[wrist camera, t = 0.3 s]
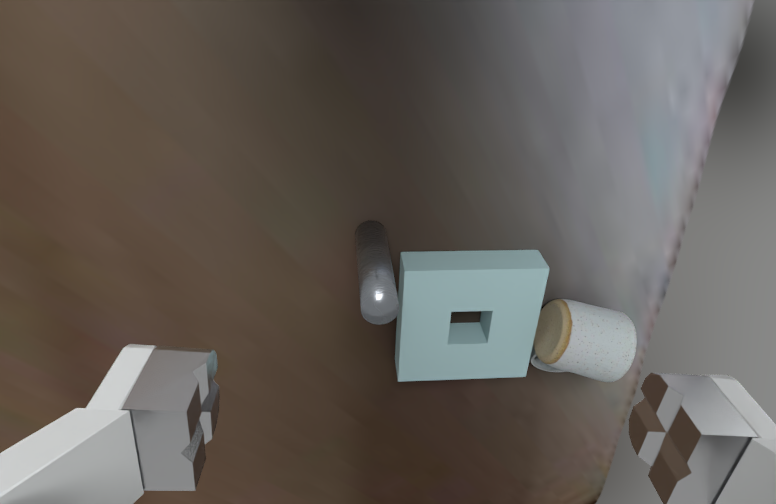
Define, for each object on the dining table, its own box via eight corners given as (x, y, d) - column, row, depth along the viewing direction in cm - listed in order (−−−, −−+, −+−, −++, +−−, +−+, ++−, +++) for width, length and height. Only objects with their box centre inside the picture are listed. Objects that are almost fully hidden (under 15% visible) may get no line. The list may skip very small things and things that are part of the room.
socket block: (400, 251, 54) (404, 271, 51) (537, 249, 56) (549, 268, 53) (394, 359, 62) (398, 381, 59) (516, 355, 63) (525, 376, 60)
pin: (355, 220, 52) (361, 293, 42) (386, 220, 53) (400, 293, 42) (355, 248, 54) (360, 325, 44) (385, 247, 54) (398, 323, 44)
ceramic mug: (550, 282, 58) (577, 329, 52) (616, 297, 60) (650, 344, 53) (509, 355, 63) (529, 406, 57) (571, 367, 65) (597, 418, 59)
